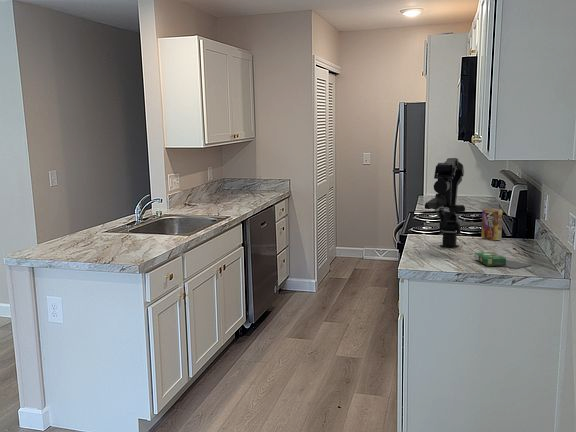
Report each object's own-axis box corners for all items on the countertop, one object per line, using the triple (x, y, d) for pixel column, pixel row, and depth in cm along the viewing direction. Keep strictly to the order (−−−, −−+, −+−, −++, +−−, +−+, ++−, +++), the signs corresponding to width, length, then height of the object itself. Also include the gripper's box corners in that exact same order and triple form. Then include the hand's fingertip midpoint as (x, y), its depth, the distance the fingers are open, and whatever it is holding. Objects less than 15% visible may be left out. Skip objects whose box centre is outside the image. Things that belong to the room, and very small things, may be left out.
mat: (485, 262, 220) (485, 261, 220) (501, 259, 225) (501, 258, 225) (515, 269, 208) (515, 268, 208) (531, 265, 213) (531, 264, 213)
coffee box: (473, 259, 225) (486, 266, 212) (473, 252, 225) (487, 259, 212) (492, 258, 226) (506, 265, 213) (492, 251, 225) (507, 258, 212)
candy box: (501, 240, 268) (503, 209, 266) (497, 241, 265) (498, 210, 263) (485, 237, 275) (486, 208, 273) (480, 238, 272) (481, 209, 270)
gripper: (416, 191, 241) (415, 225, 243) (448, 194, 225) (447, 230, 227) (433, 189, 246) (433, 223, 249) (466, 192, 231) (465, 228, 233)
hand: (443, 226), depth 239 cm, fingers closed
